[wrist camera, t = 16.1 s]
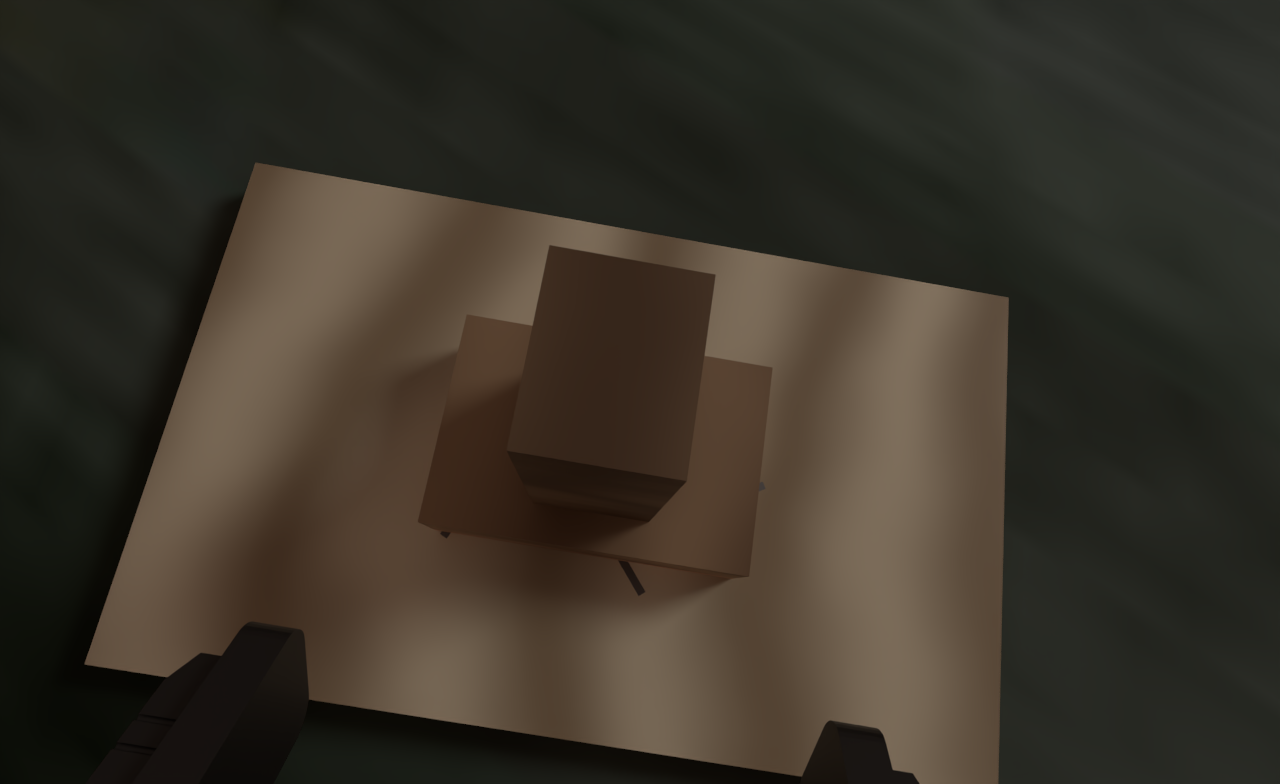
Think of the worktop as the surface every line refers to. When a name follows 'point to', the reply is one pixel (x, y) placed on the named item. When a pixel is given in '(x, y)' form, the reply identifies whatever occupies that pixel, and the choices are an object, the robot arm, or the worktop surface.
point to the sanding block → (604, 423)
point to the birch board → (564, 581)
